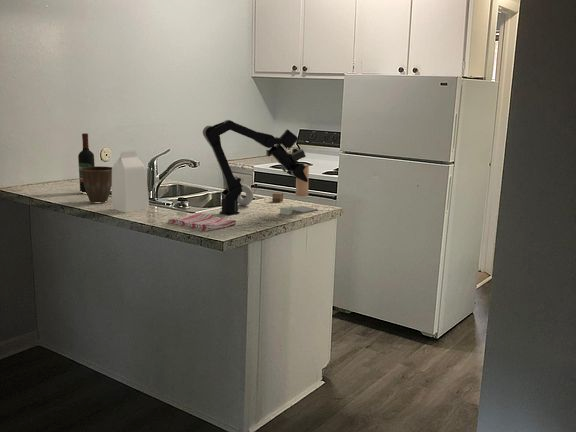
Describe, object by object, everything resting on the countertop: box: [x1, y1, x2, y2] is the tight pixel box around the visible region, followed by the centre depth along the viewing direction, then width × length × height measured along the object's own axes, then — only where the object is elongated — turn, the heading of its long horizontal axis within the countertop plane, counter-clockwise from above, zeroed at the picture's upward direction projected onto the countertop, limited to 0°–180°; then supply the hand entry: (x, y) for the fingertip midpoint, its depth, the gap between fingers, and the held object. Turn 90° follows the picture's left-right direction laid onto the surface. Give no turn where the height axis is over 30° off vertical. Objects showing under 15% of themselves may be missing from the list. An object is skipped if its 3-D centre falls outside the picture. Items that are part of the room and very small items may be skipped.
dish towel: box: [167, 212, 237, 232], centre depth 243 cm, size 17×23×4 cm
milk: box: [111, 150, 150, 213], centre depth 266 cm, size 12×12×26 cm
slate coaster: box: [292, 205, 319, 214], centre depth 274 cm, size 10×10×1 cm
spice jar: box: [295, 163, 310, 197], centre depth 272 cm, size 6×6×14 cm
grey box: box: [279, 205, 294, 216], centre depth 267 cm, size 6×4×3 cm, turn 164°
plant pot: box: [81, 166, 113, 203], centre depth 282 cm, size 15×15×16 cm
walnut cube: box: [271, 192, 284, 203], centre depth 294 cm, size 4×4×4 cm
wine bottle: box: [77, 132, 96, 192], centre depth 304 cm, size 8×8×30 cm
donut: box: [237, 183, 254, 207], centre depth 281 cm, size 10×4×10 cm, turn 64°
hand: (305, 180), depth 272 cm, fingers closed on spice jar, 6 cm apart
